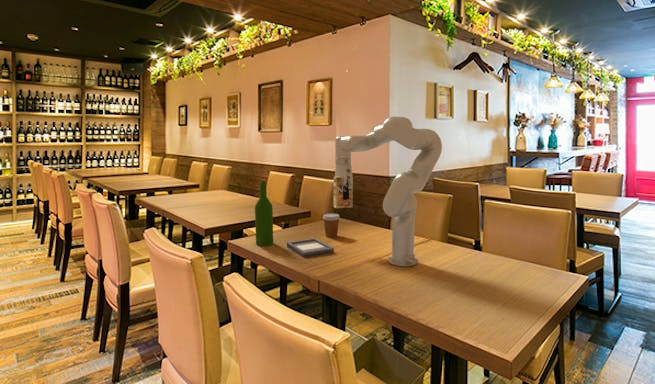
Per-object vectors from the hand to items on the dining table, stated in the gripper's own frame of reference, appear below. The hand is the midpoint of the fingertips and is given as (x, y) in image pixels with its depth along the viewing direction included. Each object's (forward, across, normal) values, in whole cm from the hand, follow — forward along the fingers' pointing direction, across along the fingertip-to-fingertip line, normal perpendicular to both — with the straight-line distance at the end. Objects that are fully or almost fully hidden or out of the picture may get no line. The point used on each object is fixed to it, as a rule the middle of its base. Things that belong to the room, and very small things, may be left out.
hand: (343, 198), depth 198 cm
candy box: (+5, 0, 0) cm, 5 cm away
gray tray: (+25, +5, +16) cm, 30 cm away
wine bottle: (+25, +26, +32) cm, 48 cm away
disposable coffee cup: (+25, +23, -6) cm, 35 cm away
